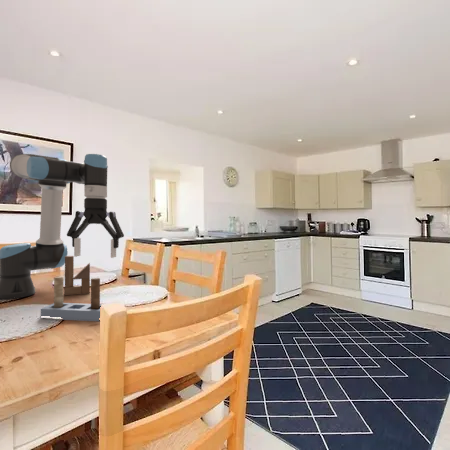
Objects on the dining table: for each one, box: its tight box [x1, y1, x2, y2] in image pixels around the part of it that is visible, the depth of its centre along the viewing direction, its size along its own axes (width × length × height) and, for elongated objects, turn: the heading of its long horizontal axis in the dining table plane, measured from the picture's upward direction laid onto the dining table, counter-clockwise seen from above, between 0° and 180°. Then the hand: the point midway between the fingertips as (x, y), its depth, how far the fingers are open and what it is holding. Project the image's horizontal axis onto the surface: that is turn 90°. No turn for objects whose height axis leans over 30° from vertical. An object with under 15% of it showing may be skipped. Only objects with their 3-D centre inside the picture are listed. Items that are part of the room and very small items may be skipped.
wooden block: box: [63, 255, 91, 296], centre depth 138 cm, size 4×11×18 cm, turn 115°
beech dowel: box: [53, 276, 65, 308], centre depth 107 cm, size 3×3×14 cm
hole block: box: [40, 302, 103, 322], centre depth 107 cm, size 22×8×4 cm, turn 86°
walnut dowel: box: [90, 277, 101, 310], centre depth 106 cm, size 3×3×14 cm
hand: (95, 256), depth 106 cm, fingers open, 13 cm apart
